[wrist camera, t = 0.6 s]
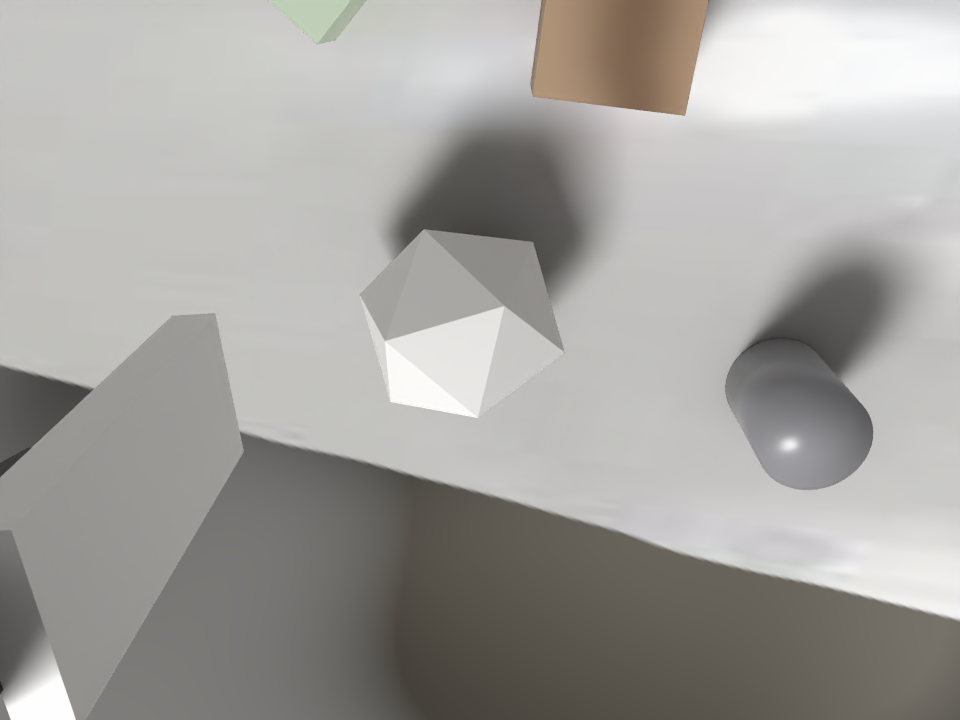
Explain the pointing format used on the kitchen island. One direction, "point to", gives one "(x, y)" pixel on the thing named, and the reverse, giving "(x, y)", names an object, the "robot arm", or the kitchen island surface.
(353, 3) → the sage block
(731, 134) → the kitchen island surface
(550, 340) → the die
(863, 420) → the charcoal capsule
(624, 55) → the walnut block
